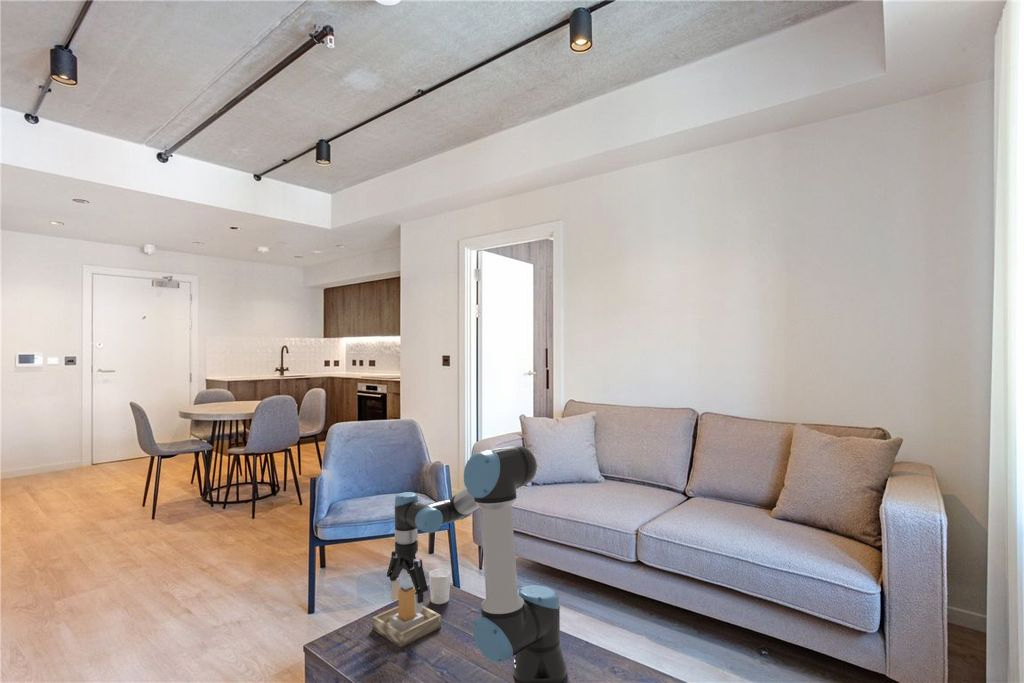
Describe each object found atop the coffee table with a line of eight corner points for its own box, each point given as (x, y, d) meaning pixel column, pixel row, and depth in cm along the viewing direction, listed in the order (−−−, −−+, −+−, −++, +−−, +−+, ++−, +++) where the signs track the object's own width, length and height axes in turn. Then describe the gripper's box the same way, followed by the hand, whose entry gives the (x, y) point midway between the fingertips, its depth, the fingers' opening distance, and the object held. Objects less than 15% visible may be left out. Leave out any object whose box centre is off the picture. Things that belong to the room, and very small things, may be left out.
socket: (423, 624, 170) (423, 615, 170) (404, 634, 164) (404, 625, 164) (409, 616, 175) (409, 607, 175) (389, 625, 169) (389, 616, 170)
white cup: (454, 597, 191) (454, 570, 191) (443, 606, 184) (443, 578, 184) (436, 593, 194) (436, 567, 195) (425, 602, 187) (424, 575, 187)
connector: (415, 624, 170) (415, 586, 170) (405, 629, 167) (405, 590, 167) (408, 620, 173) (408, 582, 173) (398, 625, 170) (398, 586, 170)
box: (441, 627, 170) (440, 614, 170) (401, 647, 158) (401, 634, 159) (411, 611, 181) (411, 599, 181) (372, 629, 169) (372, 617, 169)
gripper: (438, 546, 165) (439, 613, 164) (394, 529, 181) (394, 590, 181) (419, 552, 160) (420, 622, 159) (376, 534, 176) (376, 598, 175)
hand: (406, 605), depth 170 cm, fingers open, 12 cm apart
